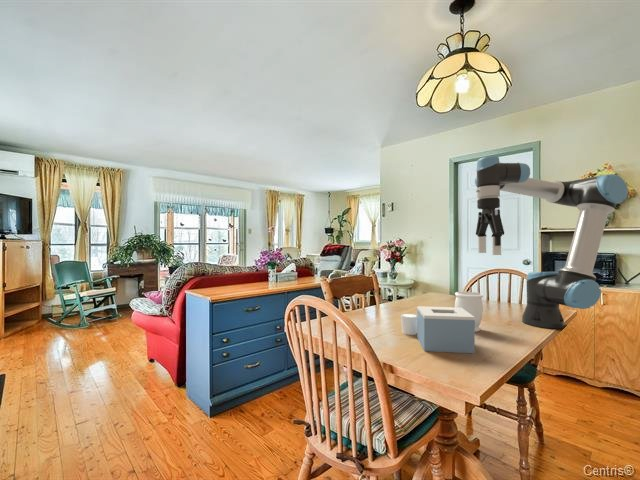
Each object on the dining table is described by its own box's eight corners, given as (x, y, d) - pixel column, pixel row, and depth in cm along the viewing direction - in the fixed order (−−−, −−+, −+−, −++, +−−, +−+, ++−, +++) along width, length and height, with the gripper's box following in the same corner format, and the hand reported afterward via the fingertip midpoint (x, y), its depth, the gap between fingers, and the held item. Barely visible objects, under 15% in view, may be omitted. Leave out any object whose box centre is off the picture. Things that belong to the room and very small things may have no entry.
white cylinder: (419, 335, 120) (419, 317, 120) (401, 334, 122) (401, 317, 122) (417, 330, 127) (417, 313, 127) (400, 329, 129) (400, 312, 128)
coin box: (461, 339, 116) (461, 307, 116) (474, 353, 102) (474, 317, 102) (417, 337, 118) (417, 306, 118) (424, 350, 104) (424, 315, 104)
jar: (476, 326, 134) (477, 291, 133) (487, 333, 123) (487, 295, 123) (451, 325, 135) (451, 290, 134) (459, 332, 124) (459, 295, 124)
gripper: (466, 202, 131) (467, 252, 131) (491, 194, 106) (492, 256, 107) (485, 201, 130) (486, 251, 130) (514, 193, 105) (515, 255, 106)
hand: (489, 253), depth 118 cm, fingers open, 13 cm apart
